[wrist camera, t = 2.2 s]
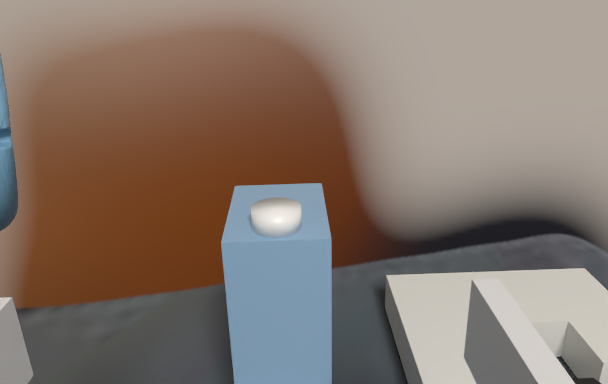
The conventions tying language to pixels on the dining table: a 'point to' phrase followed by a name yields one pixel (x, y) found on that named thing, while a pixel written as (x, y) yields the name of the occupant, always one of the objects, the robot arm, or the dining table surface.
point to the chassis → (530, 298)
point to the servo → (279, 284)
